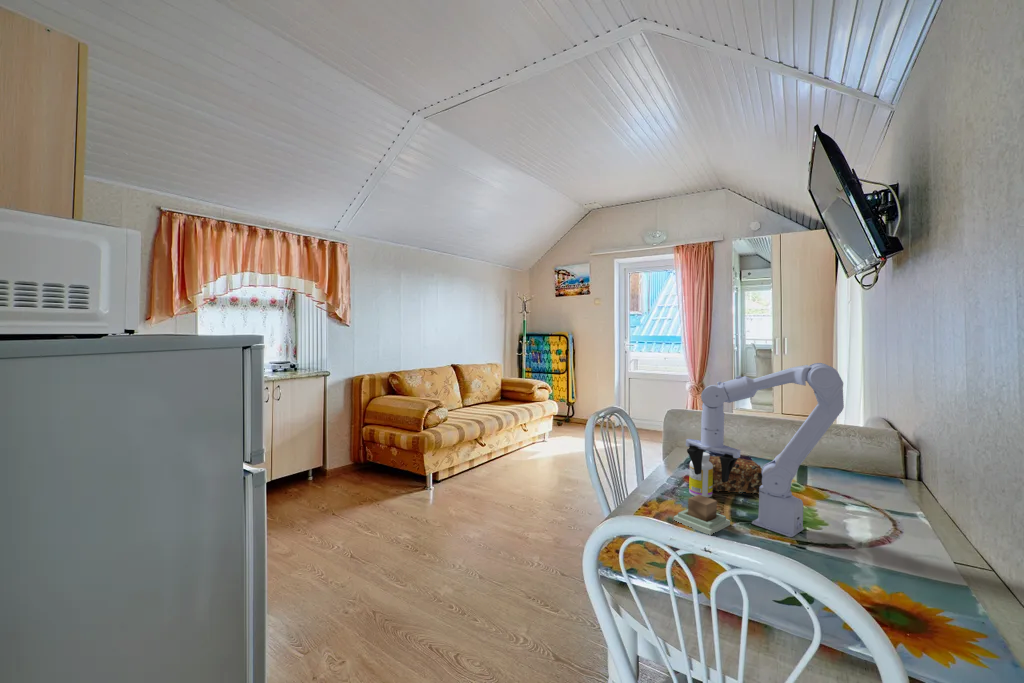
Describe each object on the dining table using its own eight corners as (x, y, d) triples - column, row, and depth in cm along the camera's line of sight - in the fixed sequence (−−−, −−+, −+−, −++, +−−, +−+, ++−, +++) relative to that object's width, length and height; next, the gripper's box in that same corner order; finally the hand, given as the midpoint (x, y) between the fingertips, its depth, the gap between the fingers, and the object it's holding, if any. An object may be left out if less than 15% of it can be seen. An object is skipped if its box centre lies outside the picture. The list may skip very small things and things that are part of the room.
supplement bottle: (707, 491, 137) (709, 450, 137) (715, 499, 131) (716, 456, 130) (686, 490, 138) (687, 449, 138) (692, 498, 131) (693, 455, 131)
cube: (716, 519, 113) (716, 500, 113) (705, 524, 110) (706, 504, 110) (698, 512, 117) (698, 494, 117) (687, 517, 114) (688, 498, 114)
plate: (730, 524, 113) (730, 516, 113) (710, 535, 107) (710, 526, 107) (694, 511, 121) (694, 504, 121) (673, 520, 115) (673, 512, 115)
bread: (701, 491, 137) (702, 460, 137) (693, 480, 148) (694, 451, 147) (765, 496, 134) (766, 464, 134) (752, 484, 145) (753, 454, 144)
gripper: (680, 425, 123) (679, 473, 124) (731, 435, 112) (730, 488, 112) (693, 422, 127) (692, 468, 128) (744, 432, 116) (743, 482, 116)
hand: (711, 477), depth 120 cm, fingers open, 7 cm apart
